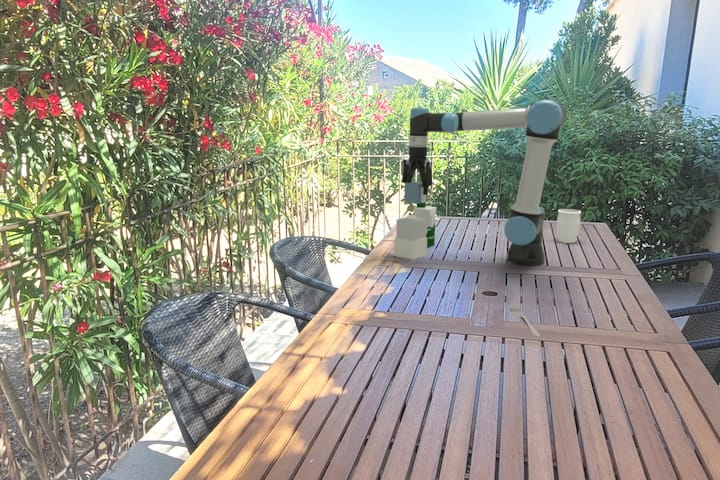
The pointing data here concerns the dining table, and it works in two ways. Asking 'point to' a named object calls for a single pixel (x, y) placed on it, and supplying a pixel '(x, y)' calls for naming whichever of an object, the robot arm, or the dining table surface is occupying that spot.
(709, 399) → the dining table surface
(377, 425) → the dining table surface
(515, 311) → the fork
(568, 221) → the jar
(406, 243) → the tower base
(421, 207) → the milk carton
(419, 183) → the slate block
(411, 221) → the tower top
